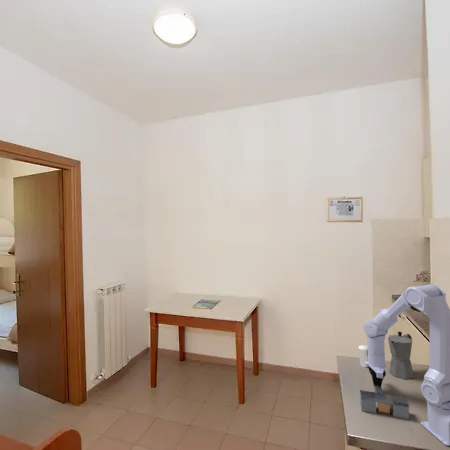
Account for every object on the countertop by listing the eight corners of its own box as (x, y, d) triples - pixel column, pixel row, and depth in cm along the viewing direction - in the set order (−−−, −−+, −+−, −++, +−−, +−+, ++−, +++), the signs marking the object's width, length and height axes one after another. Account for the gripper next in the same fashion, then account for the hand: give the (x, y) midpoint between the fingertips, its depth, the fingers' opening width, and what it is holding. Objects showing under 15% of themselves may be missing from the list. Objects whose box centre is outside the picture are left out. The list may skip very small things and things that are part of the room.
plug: (372, 392, 106) (372, 384, 106) (382, 393, 105) (382, 385, 105) (378, 411, 95) (378, 402, 95) (389, 413, 94) (389, 404, 94)
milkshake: (373, 368, 124) (372, 346, 124) (360, 367, 125) (359, 345, 125) (370, 364, 129) (369, 342, 129) (357, 363, 130) (356, 341, 130)
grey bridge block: (360, 404, 99) (359, 389, 99) (405, 412, 94) (405, 397, 94) (361, 411, 95) (361, 396, 96) (409, 419, 91) (408, 404, 91)
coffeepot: (405, 383, 112) (403, 338, 112) (381, 373, 120) (380, 331, 120) (423, 372, 120) (422, 330, 120) (400, 364, 128) (399, 324, 128)
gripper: (362, 343, 115) (363, 376, 115) (367, 358, 102) (368, 396, 101) (381, 345, 113) (382, 379, 112) (389, 361, 99) (390, 400, 99)
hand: (377, 387), depth 107 cm, fingers closed
